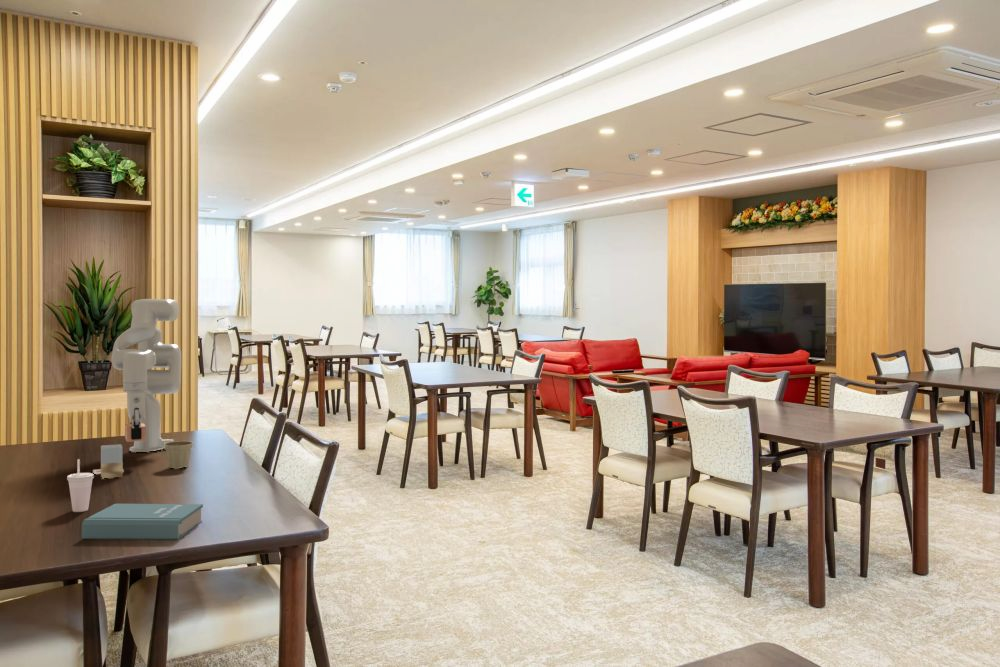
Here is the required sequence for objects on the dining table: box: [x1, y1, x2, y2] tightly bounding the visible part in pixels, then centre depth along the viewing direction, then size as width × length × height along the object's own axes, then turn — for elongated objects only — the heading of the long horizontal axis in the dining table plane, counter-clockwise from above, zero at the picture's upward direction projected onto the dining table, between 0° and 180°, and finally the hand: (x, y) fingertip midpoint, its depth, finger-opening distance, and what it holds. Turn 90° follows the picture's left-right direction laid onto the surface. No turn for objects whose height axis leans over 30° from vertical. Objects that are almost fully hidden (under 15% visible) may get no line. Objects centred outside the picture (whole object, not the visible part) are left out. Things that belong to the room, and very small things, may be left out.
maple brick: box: [100, 461, 124, 480], centre depth 242 cm, size 6×6×5 cm
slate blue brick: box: [100, 443, 124, 464], centre depth 242 cm, size 6×6×5 cm
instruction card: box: [92, 468, 125, 475], centre depth 249 cm, size 9×7×1 cm
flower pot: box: [164, 440, 194, 469], centre depth 257 cm, size 9×9×9 cm
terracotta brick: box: [124, 423, 146, 443], centre depth 259 cm, size 6×6×5 cm
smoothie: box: [66, 458, 95, 513], centre depth 200 cm, size 6×6×14 cm
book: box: [81, 503, 204, 541], centre depth 183 cm, size 23×16×5 cm
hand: (135, 436), depth 259 cm, fingers closed on terracotta brick, 6 cm apart
